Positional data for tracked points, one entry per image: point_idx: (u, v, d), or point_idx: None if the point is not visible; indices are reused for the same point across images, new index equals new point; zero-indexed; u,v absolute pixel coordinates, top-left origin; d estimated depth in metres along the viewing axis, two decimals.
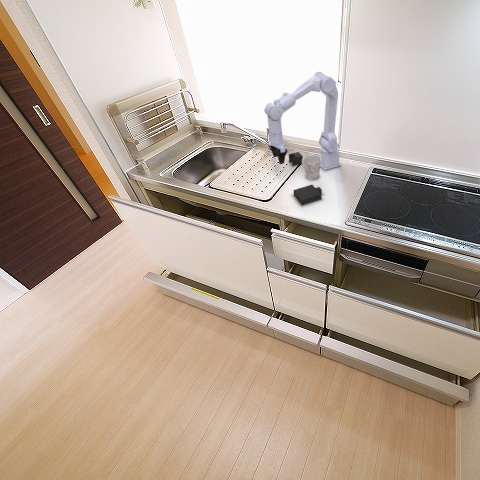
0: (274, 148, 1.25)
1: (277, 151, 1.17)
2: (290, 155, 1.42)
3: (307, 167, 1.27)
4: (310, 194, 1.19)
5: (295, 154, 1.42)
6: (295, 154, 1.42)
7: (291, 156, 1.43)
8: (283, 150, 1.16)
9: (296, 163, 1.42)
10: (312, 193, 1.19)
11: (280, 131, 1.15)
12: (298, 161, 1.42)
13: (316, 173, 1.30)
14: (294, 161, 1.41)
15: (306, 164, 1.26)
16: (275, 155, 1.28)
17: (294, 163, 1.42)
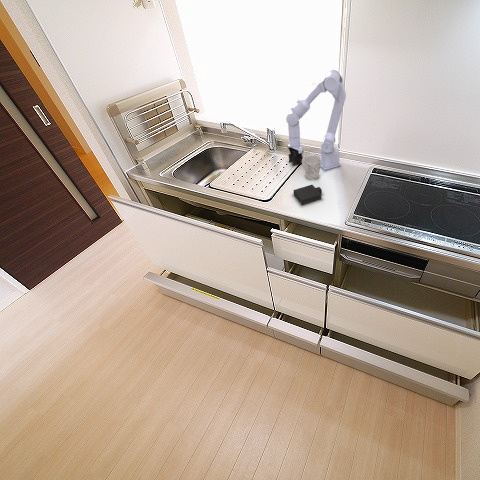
0: (292, 150, 1.42)
1: (295, 152, 1.35)
2: (290, 155, 1.42)
3: (307, 167, 1.27)
4: (310, 194, 1.19)
5: None
6: None
7: (291, 156, 1.43)
8: (301, 151, 1.33)
9: (296, 163, 1.42)
10: (312, 193, 1.19)
11: (295, 136, 1.31)
12: None
13: (316, 173, 1.30)
14: (294, 161, 1.41)
15: (306, 164, 1.26)
16: None
17: (294, 163, 1.42)
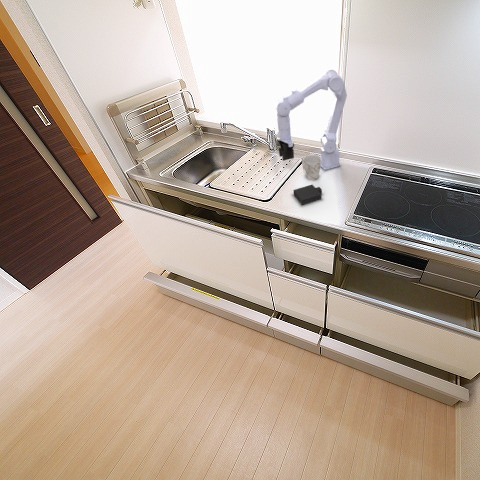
0: (283, 144, 1.32)
1: (285, 146, 1.25)
2: (280, 149, 1.32)
3: (307, 167, 1.27)
4: (310, 194, 1.19)
5: None
6: None
7: (281, 150, 1.33)
8: (291, 145, 1.23)
9: (287, 158, 1.32)
10: (312, 193, 1.19)
11: (287, 127, 1.22)
12: None
13: (316, 173, 1.30)
14: (284, 156, 1.30)
15: (306, 164, 1.26)
16: None
17: (284, 158, 1.31)
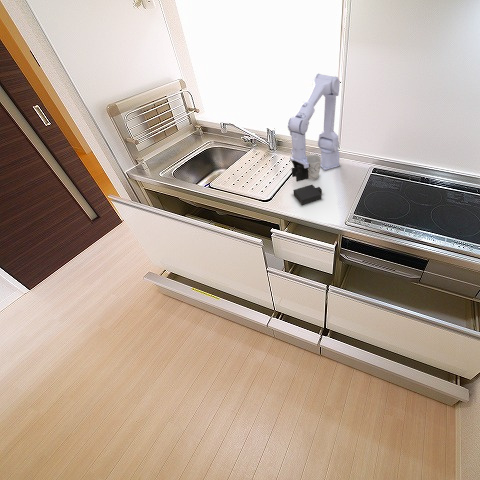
0: (296, 163, 1.19)
1: (300, 167, 1.11)
2: (293, 169, 1.19)
3: None
4: (310, 194, 1.19)
5: None
6: None
7: (295, 170, 1.20)
8: (307, 166, 1.10)
9: (301, 179, 1.19)
10: (312, 193, 1.19)
11: (305, 144, 1.10)
12: None
13: (316, 173, 1.30)
14: (298, 177, 1.17)
15: None
16: None
17: (298, 179, 1.18)
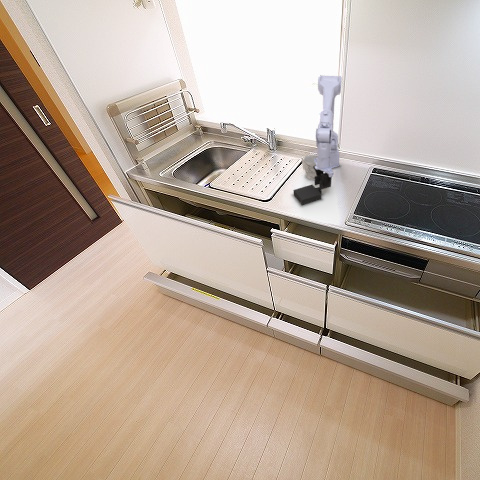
0: (319, 172, 1.20)
1: (325, 175, 1.12)
2: (316, 177, 1.20)
3: (307, 167, 1.27)
4: (310, 194, 1.19)
5: None
6: None
7: (317, 179, 1.20)
8: (331, 175, 1.11)
9: (323, 187, 1.20)
10: (312, 193, 1.19)
11: None
12: None
13: None
14: (321, 185, 1.18)
15: (306, 164, 1.26)
16: None
17: (321, 187, 1.19)
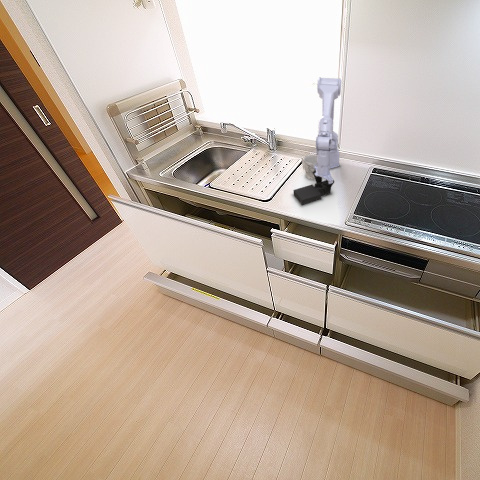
0: (318, 177, 1.23)
1: (324, 182, 1.15)
2: (316, 185, 1.23)
3: (307, 167, 1.27)
4: (310, 194, 1.19)
5: (322, 184, 1.22)
6: None
7: (317, 186, 1.23)
8: (331, 181, 1.13)
9: (323, 194, 1.22)
10: (312, 193, 1.19)
11: None
12: None
13: None
14: (321, 192, 1.21)
15: (306, 164, 1.26)
16: None
17: (321, 194, 1.22)
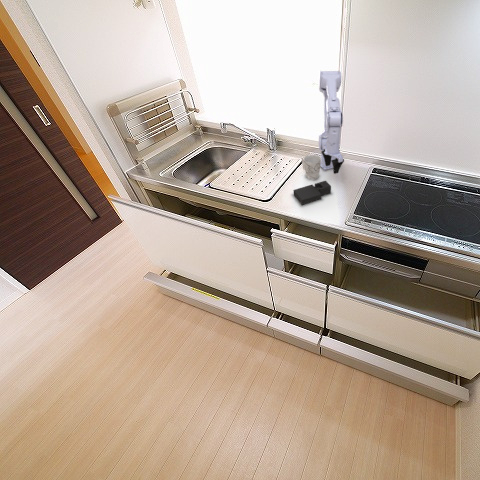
0: (327, 157, 1.21)
1: (334, 161, 1.13)
2: (316, 185, 1.23)
3: (307, 167, 1.27)
4: (310, 194, 1.19)
5: (322, 184, 1.22)
6: (322, 183, 1.22)
7: (317, 186, 1.23)
8: (341, 160, 1.12)
9: (323, 194, 1.22)
10: (312, 193, 1.19)
11: None
12: (325, 192, 1.22)
13: (316, 173, 1.30)
14: (321, 192, 1.21)
15: (306, 164, 1.26)
16: (327, 164, 1.24)
17: (321, 194, 1.22)
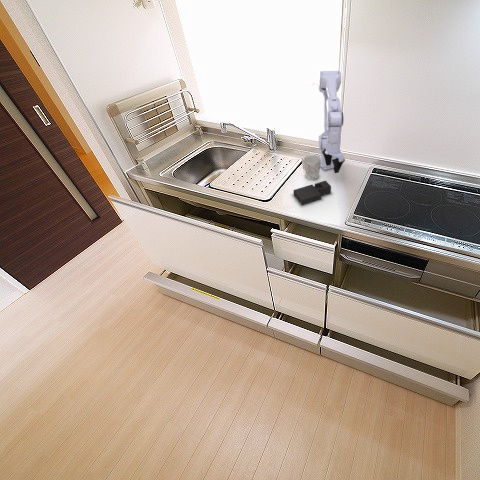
0: (328, 157, 1.21)
1: (335, 160, 1.14)
2: (316, 185, 1.23)
3: (307, 167, 1.27)
4: (310, 194, 1.19)
5: (322, 184, 1.22)
6: (322, 183, 1.22)
7: (317, 186, 1.23)
8: (342, 159, 1.12)
9: (323, 194, 1.22)
10: (312, 193, 1.19)
11: None
12: (325, 192, 1.22)
13: (316, 173, 1.30)
14: (321, 192, 1.21)
15: (306, 164, 1.26)
16: (328, 164, 1.24)
17: (321, 194, 1.22)
